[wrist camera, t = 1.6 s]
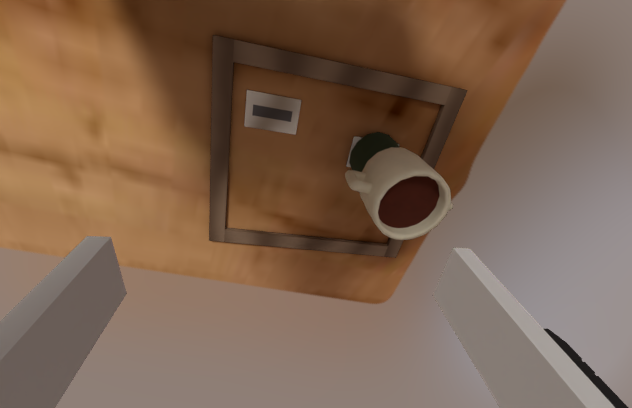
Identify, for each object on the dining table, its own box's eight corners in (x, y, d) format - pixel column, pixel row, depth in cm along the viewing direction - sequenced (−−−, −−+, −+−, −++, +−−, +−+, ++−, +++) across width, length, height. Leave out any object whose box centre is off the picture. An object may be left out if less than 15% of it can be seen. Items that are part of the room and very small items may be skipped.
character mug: (323, 171, 37) (341, 230, 25) (341, 116, 33) (370, 156, 22) (399, 188, 39) (446, 249, 28) (422, 139, 36) (486, 185, 25)
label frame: (210, 237, 40) (209, 240, 40) (214, 35, 28) (212, 35, 28) (394, 255, 45) (395, 257, 45) (464, 89, 33) (467, 90, 33)
